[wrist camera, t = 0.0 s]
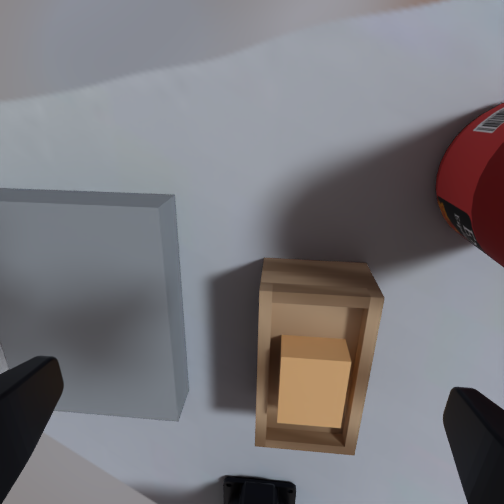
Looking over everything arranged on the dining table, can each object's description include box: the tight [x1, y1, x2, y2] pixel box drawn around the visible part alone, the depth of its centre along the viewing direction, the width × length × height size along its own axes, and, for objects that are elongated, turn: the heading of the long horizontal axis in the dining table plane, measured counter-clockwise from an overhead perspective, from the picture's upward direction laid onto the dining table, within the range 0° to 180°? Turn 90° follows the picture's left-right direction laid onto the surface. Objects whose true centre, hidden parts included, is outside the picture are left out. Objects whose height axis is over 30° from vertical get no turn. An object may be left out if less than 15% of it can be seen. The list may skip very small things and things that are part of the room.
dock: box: [0, 188, 189, 422], centre depth 24 cm, size 16×12×3 cm
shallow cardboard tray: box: [255, 258, 384, 455], centre depth 23 cm, size 12×7×4 cm, turn 179°
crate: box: [277, 335, 351, 428], centre depth 21 cm, size 5×4×2 cm
